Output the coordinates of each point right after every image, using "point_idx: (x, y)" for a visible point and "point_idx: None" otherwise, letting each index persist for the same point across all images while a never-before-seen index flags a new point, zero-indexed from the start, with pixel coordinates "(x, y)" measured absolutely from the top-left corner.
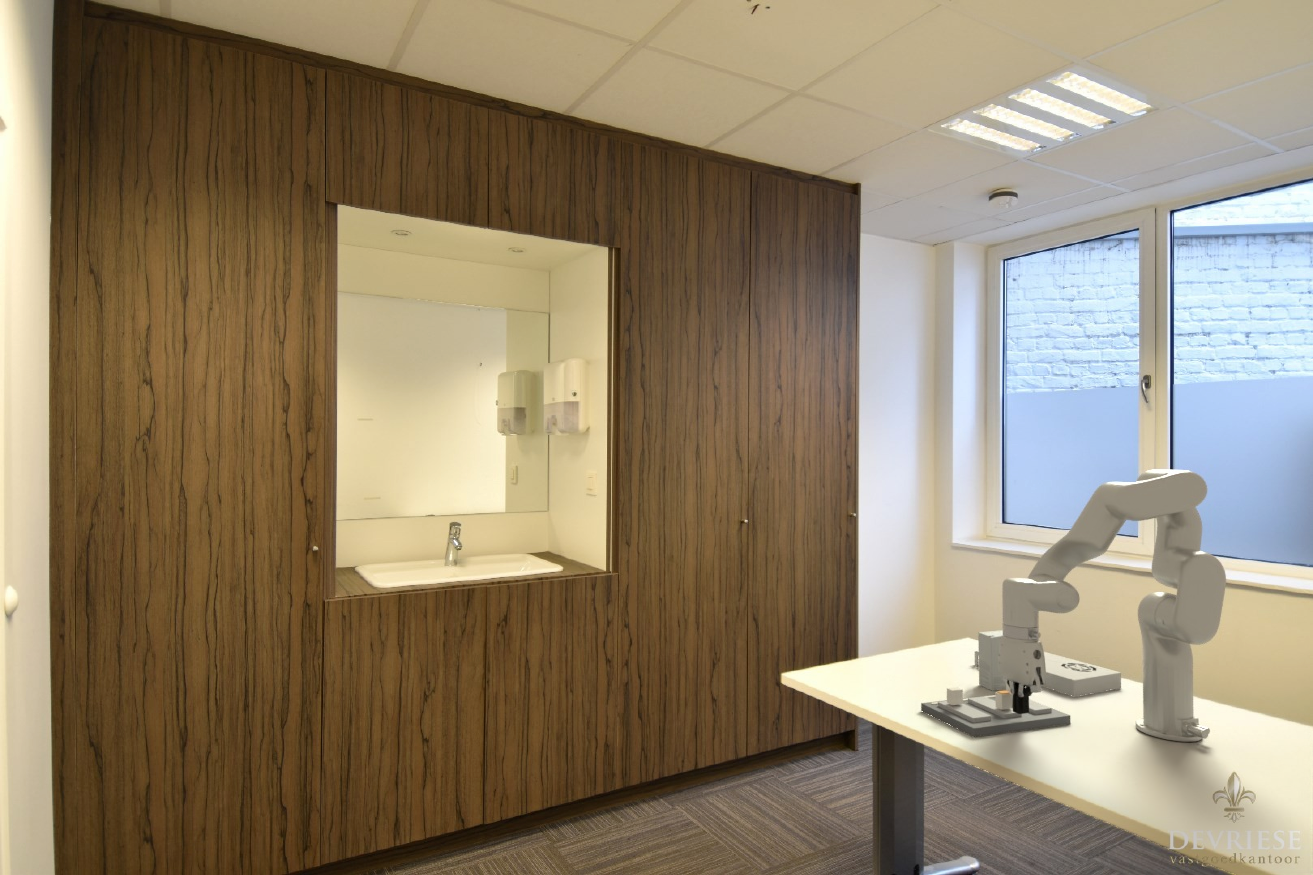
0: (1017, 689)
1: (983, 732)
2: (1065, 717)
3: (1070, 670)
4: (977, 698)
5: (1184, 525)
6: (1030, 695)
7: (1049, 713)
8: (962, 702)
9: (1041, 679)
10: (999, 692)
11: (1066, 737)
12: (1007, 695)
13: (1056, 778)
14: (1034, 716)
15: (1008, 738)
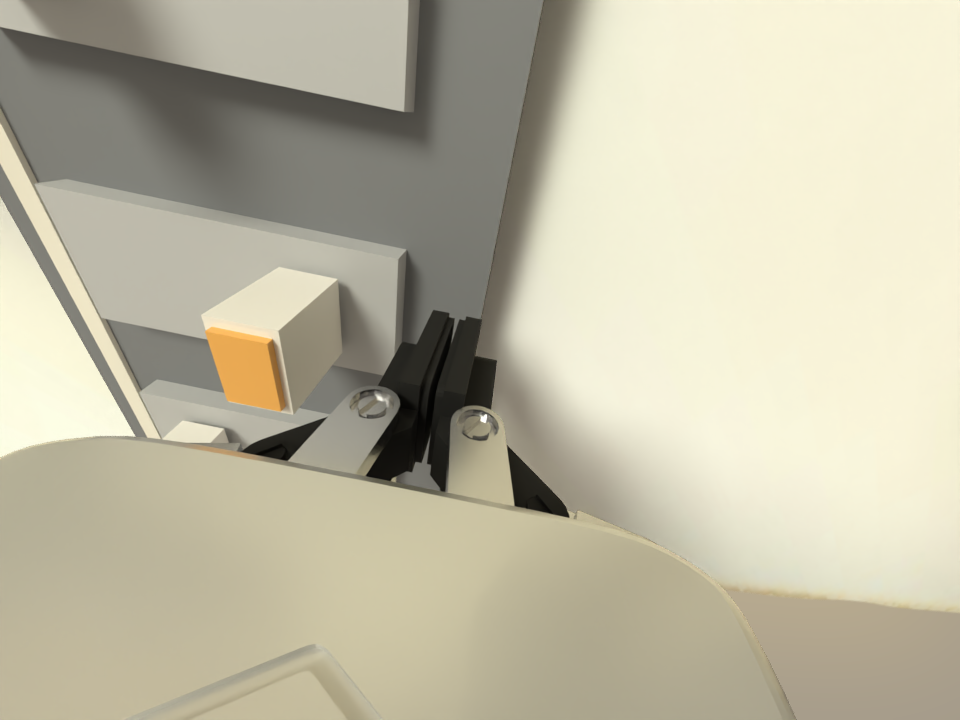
0: (383, 467)
1: None
2: None
3: None
4: (97, 269)
5: None
6: (499, 424)
7: None
8: (219, 436)
9: (640, 597)
10: (254, 404)
11: (693, 188)
12: (293, 365)
13: (774, 560)
14: (443, 166)
15: (511, 428)
